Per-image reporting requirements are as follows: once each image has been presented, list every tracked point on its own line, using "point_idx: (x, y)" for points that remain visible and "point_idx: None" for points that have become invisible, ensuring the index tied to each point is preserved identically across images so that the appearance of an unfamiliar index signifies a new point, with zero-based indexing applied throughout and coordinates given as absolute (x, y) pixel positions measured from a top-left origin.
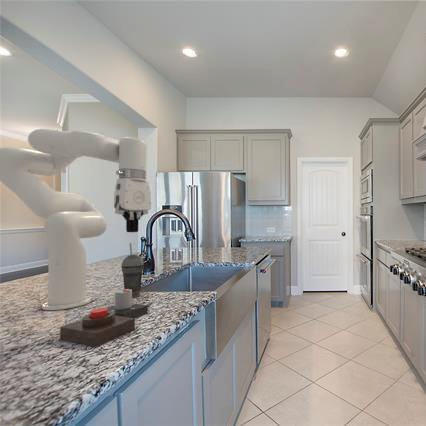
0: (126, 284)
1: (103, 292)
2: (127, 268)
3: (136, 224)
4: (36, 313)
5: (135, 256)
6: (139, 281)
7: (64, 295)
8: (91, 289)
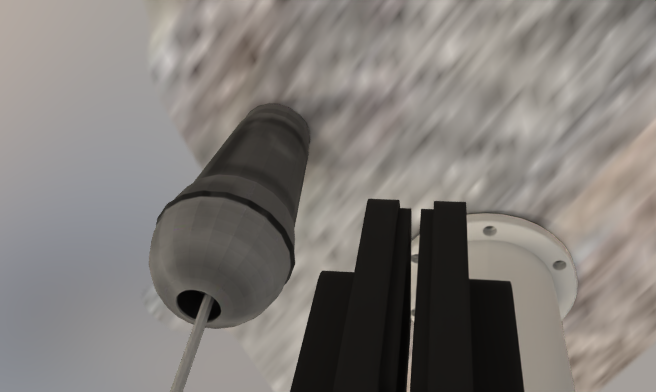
0: (300, 175)
1: (294, 303)
2: (283, 227)
3: (387, 309)
4: (610, 279)
5: (200, 275)
6: (238, 142)
7: (540, 286)
8: (288, 372)
